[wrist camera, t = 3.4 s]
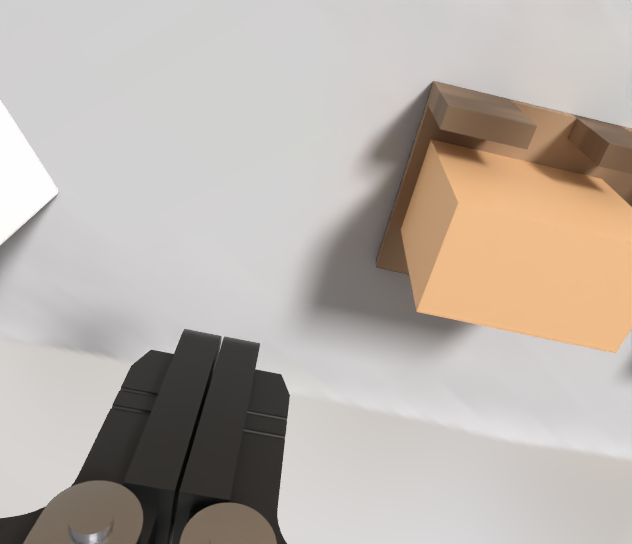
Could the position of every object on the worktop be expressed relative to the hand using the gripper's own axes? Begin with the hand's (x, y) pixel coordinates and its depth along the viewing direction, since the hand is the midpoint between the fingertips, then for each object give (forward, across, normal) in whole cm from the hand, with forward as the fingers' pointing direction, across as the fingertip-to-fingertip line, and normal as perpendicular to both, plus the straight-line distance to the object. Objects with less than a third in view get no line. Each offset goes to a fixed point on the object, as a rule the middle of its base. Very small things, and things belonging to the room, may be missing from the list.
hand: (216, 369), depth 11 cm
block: (+13, -9, 0) cm, 16 cm away
